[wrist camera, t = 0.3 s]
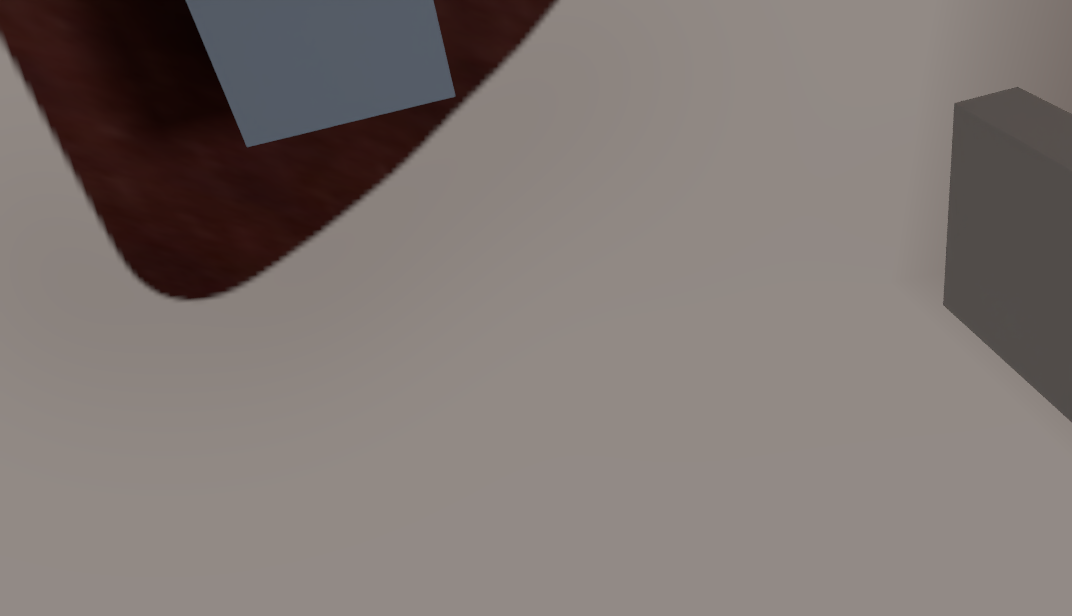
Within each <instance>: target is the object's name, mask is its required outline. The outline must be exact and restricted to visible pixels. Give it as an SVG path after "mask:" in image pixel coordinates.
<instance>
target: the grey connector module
mask: <svg viewBox="0 0 1072 616" xmlns="http://www.w3.org/2000/svg"><path fill="white" fill-rule="evenodd" d="M186 2H187V5H188V7H189V10H190V12H191V14H192V17H193V19H194V22H195V24H196V26H197V29H198V31H199V33H200V36H201V38H202V41H203V43H204V45H205V48H206V50H207V53H208V55H209V57H210V60H211V62H212V65H213V67H214V69H215V72H216V74H217V77H218V79H219V81H220V84H221V86H222V89H223V91H224V93H225V96H226V98H227V100H228V103H229V105H230V108H231V110H232V112H233V115H234V117H235V120H236V122H237V124H238V127H239V129H240V132H241V134H242V136H243V139H244V141H245V144H246V146H247V147H250V146H254V145H258V144H262V143H266V142H270V141H275V140H279V139H283V138H287V137H291V136H295V135H299V134H303V133H307V132H311V131H316V130H320V129H324V128H328V127H332V126H336V125H340V124H344V123H348V122H352V121H356V120H361V119H365V118H369V117H373V116H377V115H381V114H385V113H389V112H393V111H397V110H402V109H406V108H410V107H414V106H418V105H422V104H426V103H430V102H434V101H438V100H443V99H447V98H451V97H455V92H454V88H453V84H452V79H451V75H450V71H449V67H448V62H447V58H446V54H445V49H444V45H443V41H442V36H441V32H440V28H439V23H438V19H437V15H436V11H435V6H434V2H433V0H186Z"/></svg>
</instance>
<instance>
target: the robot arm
mask: <svg viewBox="0 0 1072 616" xmlns="http://www.w3.org/2000/svg"><path fill="white" fill-rule="evenodd" d="M947 230H948V231H947V247H946V266H945V283H944V284H945V285H944V301H943V305H944V306H945V307H946V308H947V309H949V311H951V313H953V314H954V315H955V316H956V317H957V318H958V319H959V320H960V321H961V322H962V323H964V324H965V325H966V326H967V327H968V328H969V329H970V330H971V331H973V333H975V334H976V335H977V336H978V337H979V338H980V339H981V340H982V341H983V342H984V343H985V344H987V345H988V346H989V347H990V348H991V349H992V350H993V351H994V352H995V353H996V354H998V355H999V356H1000V357H1001V358H1002V359H1003V360H1004V361H1005V362H1006V363H1007V364H1009V365H1010V366H1011V367H1012V368H1013V369H1014V370H1015V371H1016V372H1017V373H1018V374H1019V375H1021V376H1022V377H1023V378H1024V379H1025V380H1026V381H1027V382H1028V383H1029V384H1030V385H1032V386H1033V387H1034V388H1035V389H1036V390H1037V391H1038V392H1039V393H1040V394H1041V395H1043V396H1044V397H1045V398H1046V399H1047V400H1048V401H1049V402H1050V403H1051V404H1052V405H1053V406H1055V407H1056V408H1057V409H1058V410H1059V411H1060V412H1061V413H1063V415H1064V416H1066V417H1067V418H1068V419H1069V420H1070V421H1071V422H1072V114H1071V113H1069V112H1067V111H1064V110H1062V109H1060V108H1058V107H1057V106H1054V105H1053V104H1051V103H1049V102H1047V101H1044V100H1042V99H1041V98H1039V97H1037V96H1035V95H1033V94H1031V93H1029V92H1027V91H1025V90H1023V89H1020V88H1019V87H1016V88H1012V89H1008V90H1004V91H1000V92H996V93H992V94H988V95H985V96H981V97H977V98H973V99H969V100H965V101H961V102H958V103H955V104H954V123H953V140H952V158H951V176H950V195H949V211H948V229H947Z"/></svg>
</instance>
